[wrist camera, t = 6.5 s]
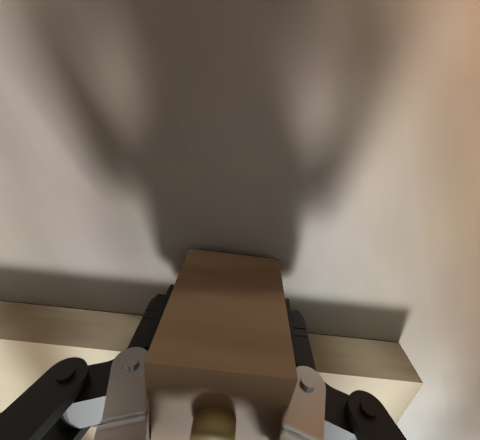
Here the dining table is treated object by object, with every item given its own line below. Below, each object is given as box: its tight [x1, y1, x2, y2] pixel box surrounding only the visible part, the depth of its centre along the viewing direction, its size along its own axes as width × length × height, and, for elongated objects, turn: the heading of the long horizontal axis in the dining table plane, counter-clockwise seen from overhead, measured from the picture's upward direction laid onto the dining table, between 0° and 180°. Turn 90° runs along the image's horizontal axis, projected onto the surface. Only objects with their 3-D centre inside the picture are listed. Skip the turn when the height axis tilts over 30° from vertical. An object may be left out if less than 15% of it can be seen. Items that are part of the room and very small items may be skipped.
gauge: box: [144, 249, 298, 440], centre depth 13 cm, size 12×4×7 cm, turn 173°
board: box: [0, 301, 423, 440], centre depth 17 cm, size 28×12×2 cm, turn 84°
